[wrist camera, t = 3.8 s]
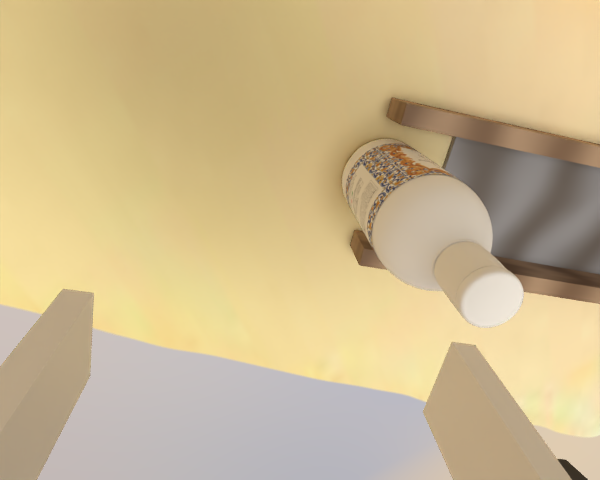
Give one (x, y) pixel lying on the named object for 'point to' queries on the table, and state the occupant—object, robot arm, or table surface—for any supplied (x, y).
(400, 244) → the bath foam
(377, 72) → the table surface
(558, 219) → the brown wooden tray
